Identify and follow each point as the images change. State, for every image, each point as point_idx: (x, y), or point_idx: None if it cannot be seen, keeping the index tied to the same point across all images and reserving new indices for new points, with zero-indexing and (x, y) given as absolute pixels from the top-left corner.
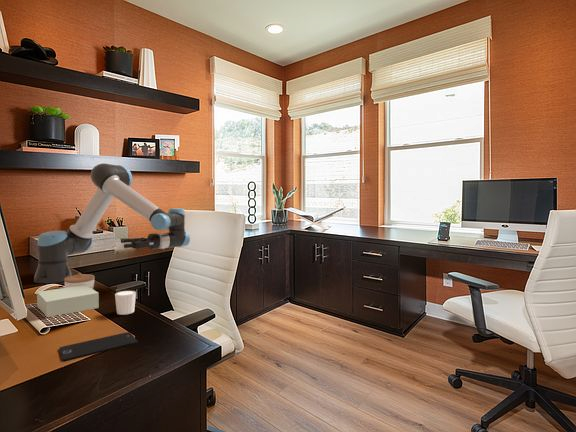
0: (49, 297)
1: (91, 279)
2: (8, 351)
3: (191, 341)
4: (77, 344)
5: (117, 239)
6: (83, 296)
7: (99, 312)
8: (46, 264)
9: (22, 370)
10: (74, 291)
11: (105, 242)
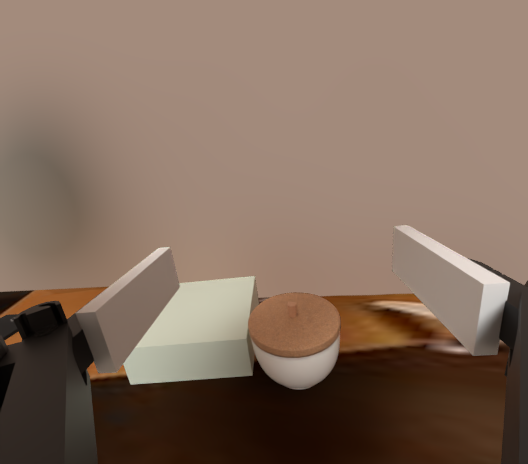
0: (192, 286)
1: (256, 343)
2: (105, 288)
3: None
4: (15, 326)
5: (468, 265)
6: None
7: (96, 378)
8: None
9: (46, 296)
10: (194, 314)
11: (394, 242)
